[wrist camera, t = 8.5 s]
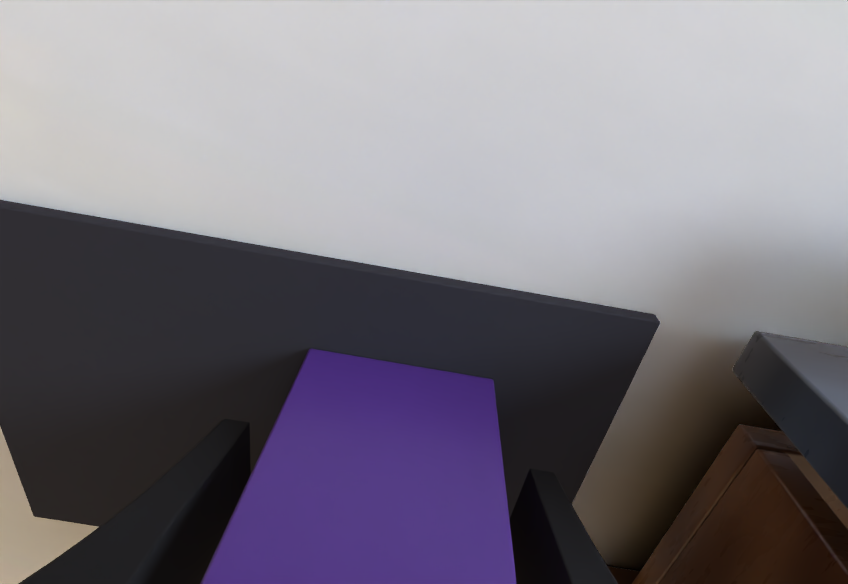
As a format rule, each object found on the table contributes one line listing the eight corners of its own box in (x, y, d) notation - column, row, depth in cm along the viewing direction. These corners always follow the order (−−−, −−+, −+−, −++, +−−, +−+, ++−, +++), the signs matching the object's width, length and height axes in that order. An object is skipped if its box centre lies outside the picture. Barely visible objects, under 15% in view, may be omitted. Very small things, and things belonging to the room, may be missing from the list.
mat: (655, 313, 12) (661, 322, 11) (526, 582, 18) (528, 593, 17) (-72, 186, 11) (-88, 191, 11) (42, 507, 17) (33, 517, 17)
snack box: (494, 378, 13) (531, 704, 6) (463, 478, 14) (470, 803, 8) (308, 346, 12) (167, 650, 6) (302, 452, 14) (189, 763, 8)
